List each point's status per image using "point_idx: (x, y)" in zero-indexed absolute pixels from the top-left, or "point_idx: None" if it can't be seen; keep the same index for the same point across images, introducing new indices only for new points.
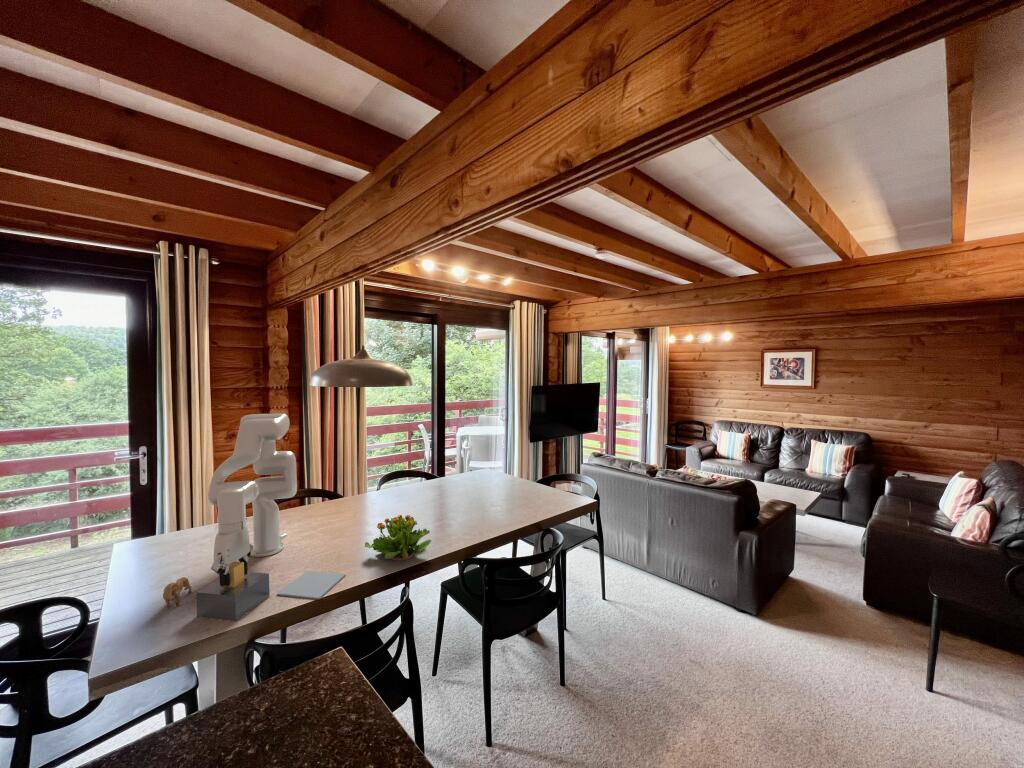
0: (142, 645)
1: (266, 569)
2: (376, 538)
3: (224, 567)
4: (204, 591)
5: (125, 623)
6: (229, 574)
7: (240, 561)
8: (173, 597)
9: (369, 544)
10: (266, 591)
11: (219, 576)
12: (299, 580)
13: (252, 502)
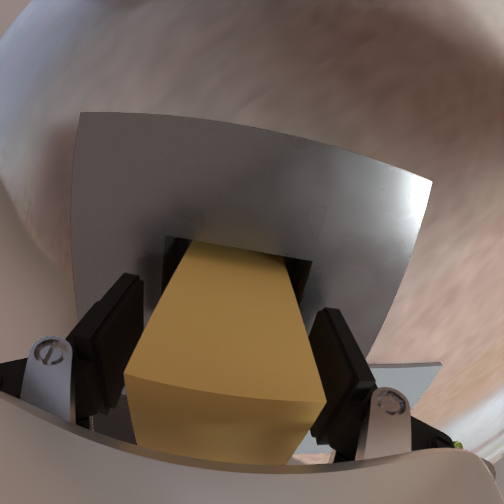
0: (17, 90)
1: (501, 211)
2: None
3: (128, 386)
4: (88, 169)
5: None
6: (115, 402)
7: (347, 419)
8: None
9: (460, 446)
10: None
11: (91, 311)
12: (388, 381)
13: None
